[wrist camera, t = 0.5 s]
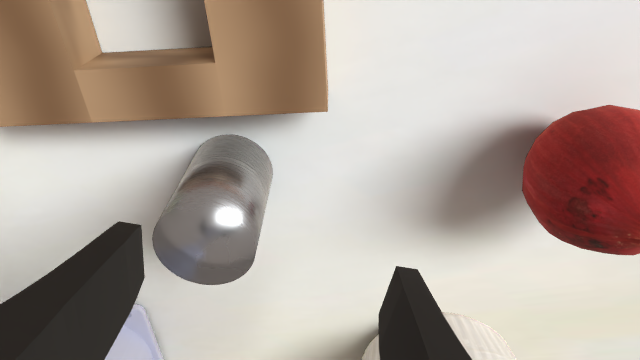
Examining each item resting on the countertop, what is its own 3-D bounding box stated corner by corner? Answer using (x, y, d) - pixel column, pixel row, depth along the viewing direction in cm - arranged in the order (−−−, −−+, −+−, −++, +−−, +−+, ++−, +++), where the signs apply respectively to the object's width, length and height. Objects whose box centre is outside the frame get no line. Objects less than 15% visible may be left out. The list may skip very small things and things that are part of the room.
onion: (530, 209, 23) (612, 333, 16) (477, 129, 21) (548, 235, 14) (644, 148, 21) (792, 261, 14) (600, 53, 19) (752, 134, 12)
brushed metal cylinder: (202, 204, 24) (166, 286, 18) (185, 136, 22) (140, 207, 16) (276, 201, 23) (261, 283, 18) (267, 132, 21) (247, 203, 16)
